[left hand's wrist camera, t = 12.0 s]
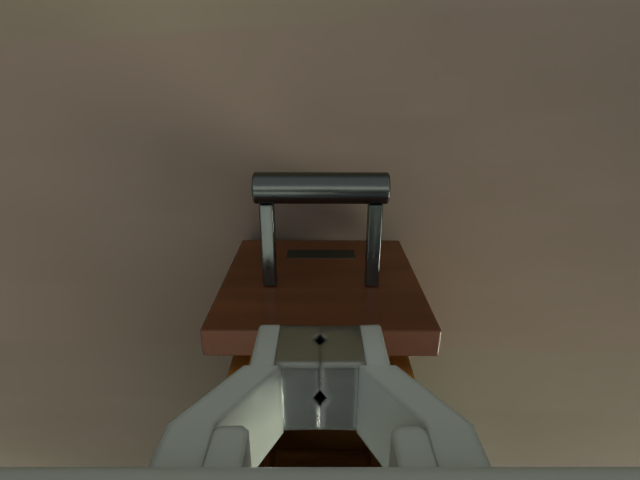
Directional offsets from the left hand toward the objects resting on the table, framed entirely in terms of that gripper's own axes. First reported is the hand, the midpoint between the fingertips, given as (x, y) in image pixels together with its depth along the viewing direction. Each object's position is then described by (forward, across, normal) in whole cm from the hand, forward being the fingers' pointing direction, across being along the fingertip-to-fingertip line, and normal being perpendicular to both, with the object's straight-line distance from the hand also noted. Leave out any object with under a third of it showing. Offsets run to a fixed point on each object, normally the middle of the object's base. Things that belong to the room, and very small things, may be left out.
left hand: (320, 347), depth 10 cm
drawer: (+14, 0, +8) cm, 16 cm away
